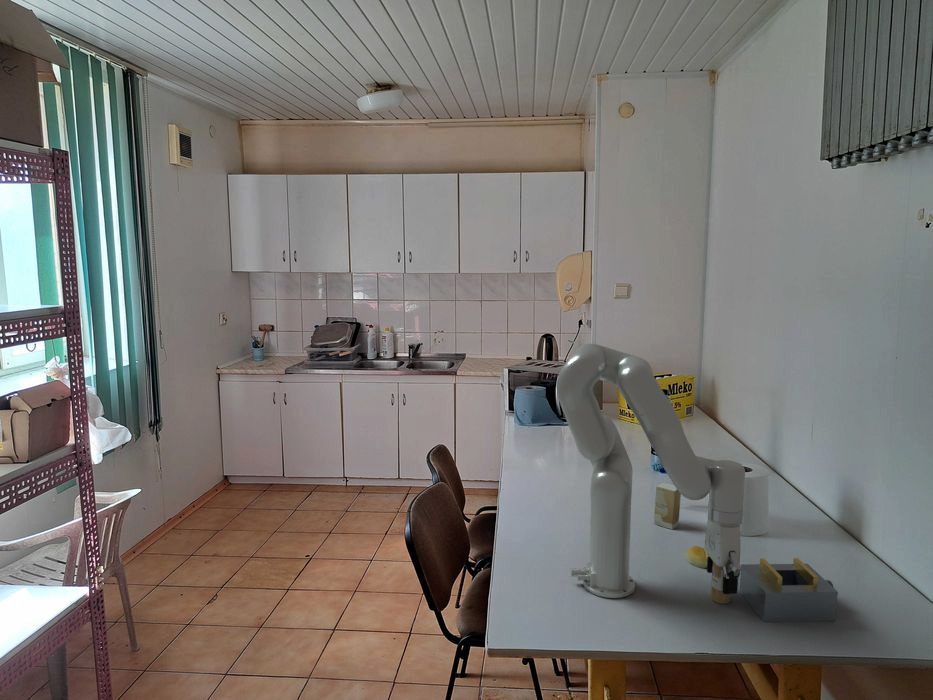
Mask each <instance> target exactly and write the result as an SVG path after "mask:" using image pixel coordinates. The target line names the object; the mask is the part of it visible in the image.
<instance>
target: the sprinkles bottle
mask: <svg viewBox="0 0 933 700" xmlns="http://www.w3.org/2000/svg"><path fill="white" fill-rule="evenodd" d="M726 564H732V563H731V562H727V563H726ZM731 570H732V568H728V573H729V572H730V571H731ZM723 577H725V574H724V569H723V566H722V567H718V566H717V565H716V564H715V563H714V561H713V567H712V573H711V591H710V599H711V600H712V601H713V602H715V603H718V604H729V603H730V602H731V594H724V593H723V592H722V590H723Z"/></svg>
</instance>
